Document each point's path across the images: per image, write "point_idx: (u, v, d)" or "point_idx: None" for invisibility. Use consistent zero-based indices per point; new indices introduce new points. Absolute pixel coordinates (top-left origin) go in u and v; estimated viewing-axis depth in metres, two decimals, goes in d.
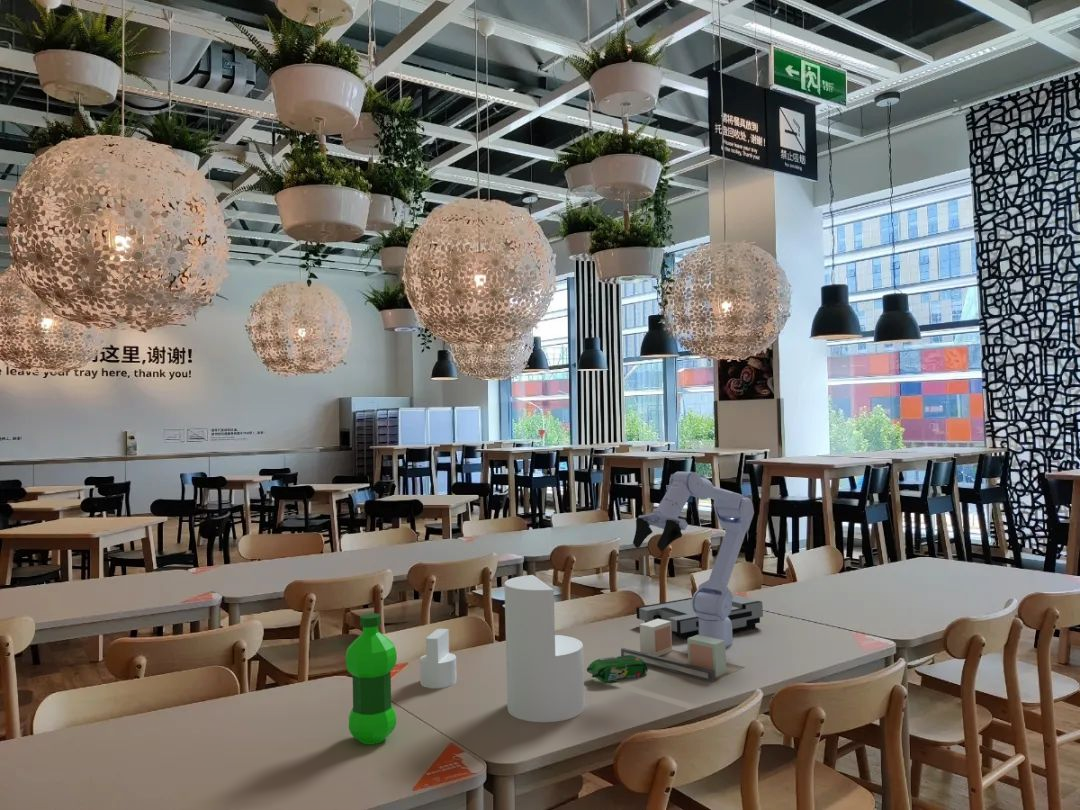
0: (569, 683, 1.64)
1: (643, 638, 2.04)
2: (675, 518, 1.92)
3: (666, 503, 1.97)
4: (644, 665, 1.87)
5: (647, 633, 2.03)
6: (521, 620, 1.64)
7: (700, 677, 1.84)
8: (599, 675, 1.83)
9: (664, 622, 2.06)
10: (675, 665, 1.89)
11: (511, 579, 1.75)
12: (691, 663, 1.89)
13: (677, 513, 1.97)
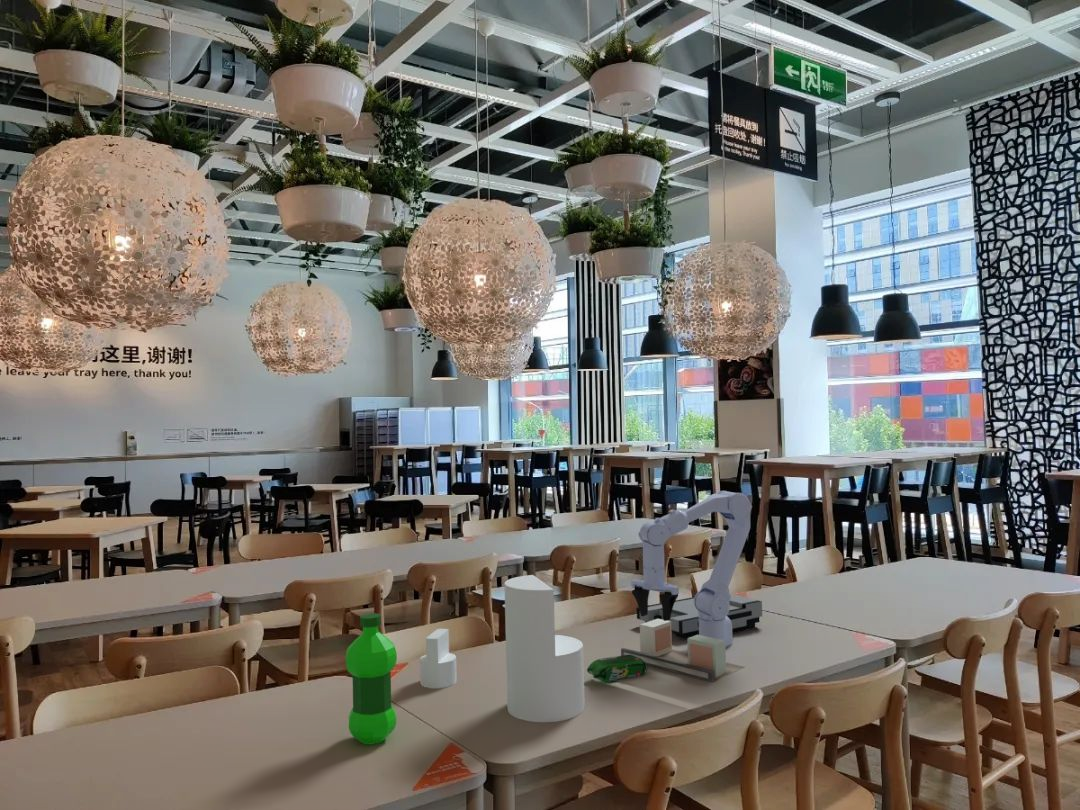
0: (569, 683, 1.64)
1: (643, 638, 2.04)
2: (665, 588, 2.02)
3: (650, 573, 2.04)
4: (644, 664, 1.88)
5: (647, 633, 2.03)
6: (521, 620, 1.64)
7: (700, 677, 1.84)
8: (600, 675, 1.83)
9: (664, 622, 2.06)
10: (675, 665, 1.89)
11: (511, 579, 1.75)
12: (691, 663, 1.89)
13: (663, 573, 2.04)
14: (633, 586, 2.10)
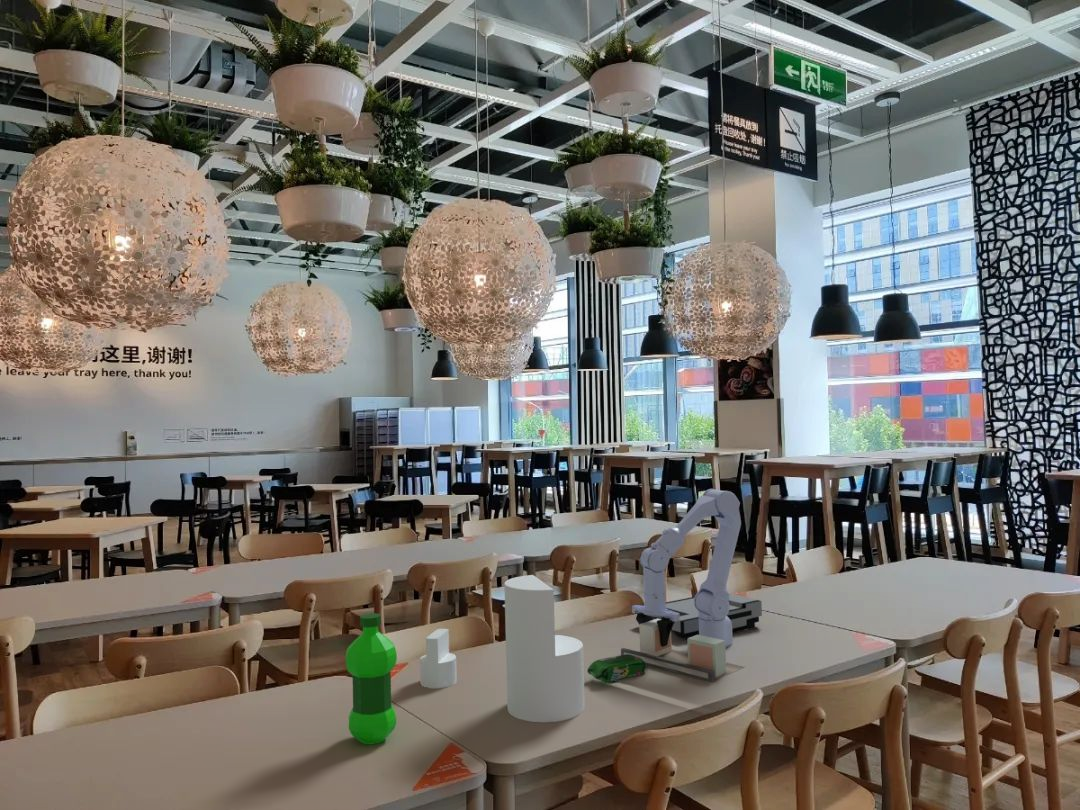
0: (569, 683, 1.64)
1: (643, 638, 2.04)
2: (666, 614, 2.01)
3: (650, 599, 2.03)
4: (643, 664, 1.88)
5: (647, 633, 2.03)
6: (521, 620, 1.64)
7: (700, 677, 1.84)
8: (602, 676, 1.83)
9: None
10: (675, 665, 1.89)
11: (511, 579, 1.75)
12: (691, 663, 1.89)
13: (664, 600, 2.04)
14: (633, 611, 2.10)
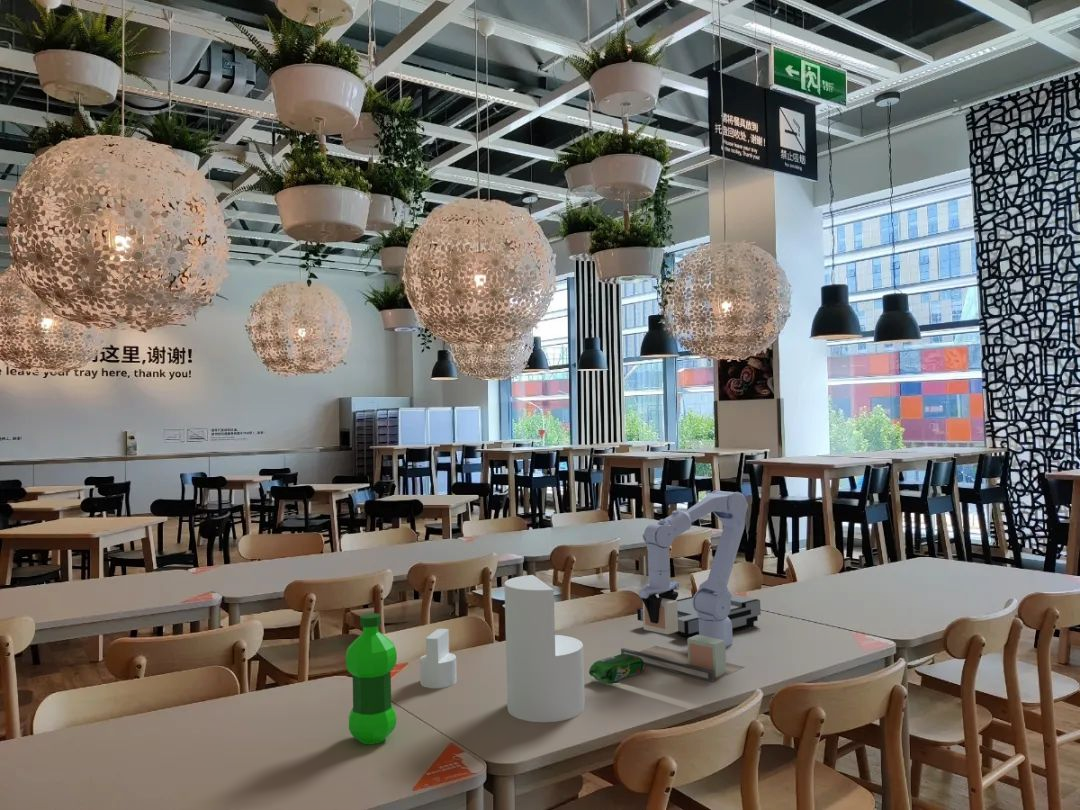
0: (569, 683, 1.64)
1: None
2: None
3: None
4: (642, 662, 1.90)
5: None
6: (521, 620, 1.64)
7: (700, 677, 1.84)
8: (607, 676, 1.82)
9: (661, 602, 2.00)
10: (675, 665, 1.89)
11: (511, 579, 1.75)
12: (691, 663, 1.89)
13: (654, 577, 2.00)
14: None
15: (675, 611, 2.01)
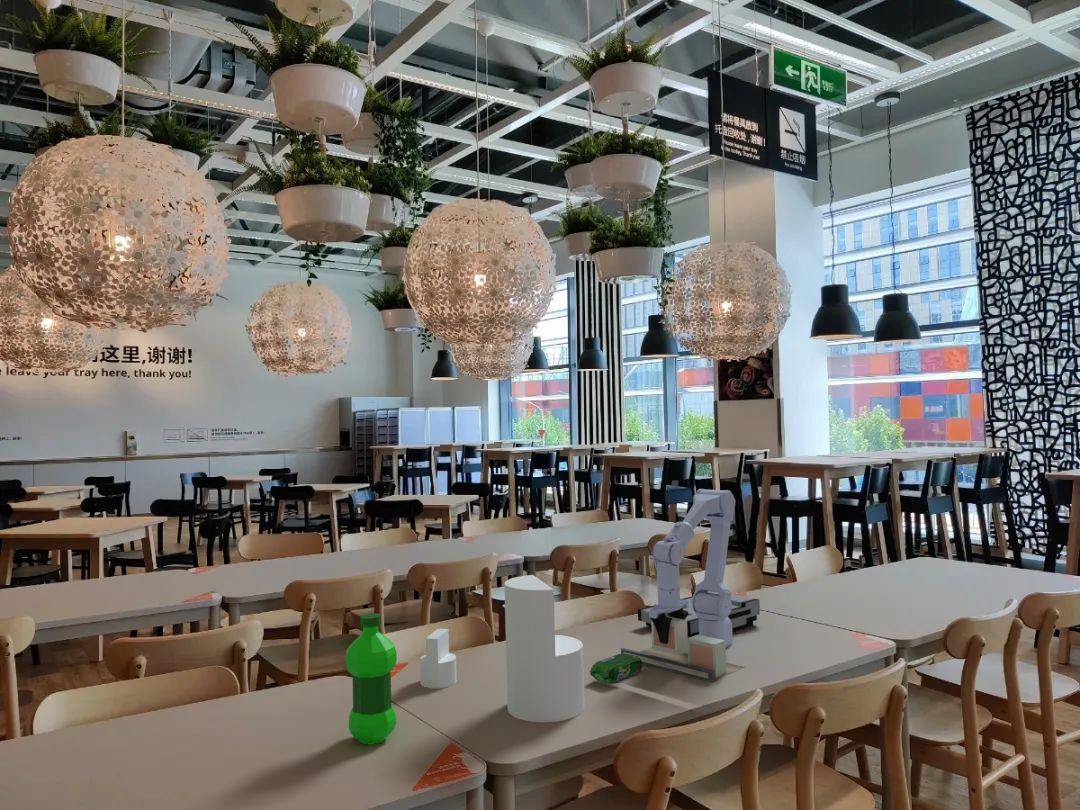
0: (569, 683, 1.64)
1: None
2: None
3: None
4: (641, 661, 1.90)
5: None
6: (521, 620, 1.64)
7: (700, 677, 1.84)
8: (610, 677, 1.82)
9: (671, 621, 1.95)
10: (675, 665, 1.89)
11: (511, 579, 1.75)
12: (691, 663, 1.89)
13: (663, 596, 1.95)
14: None
15: (685, 630, 1.95)
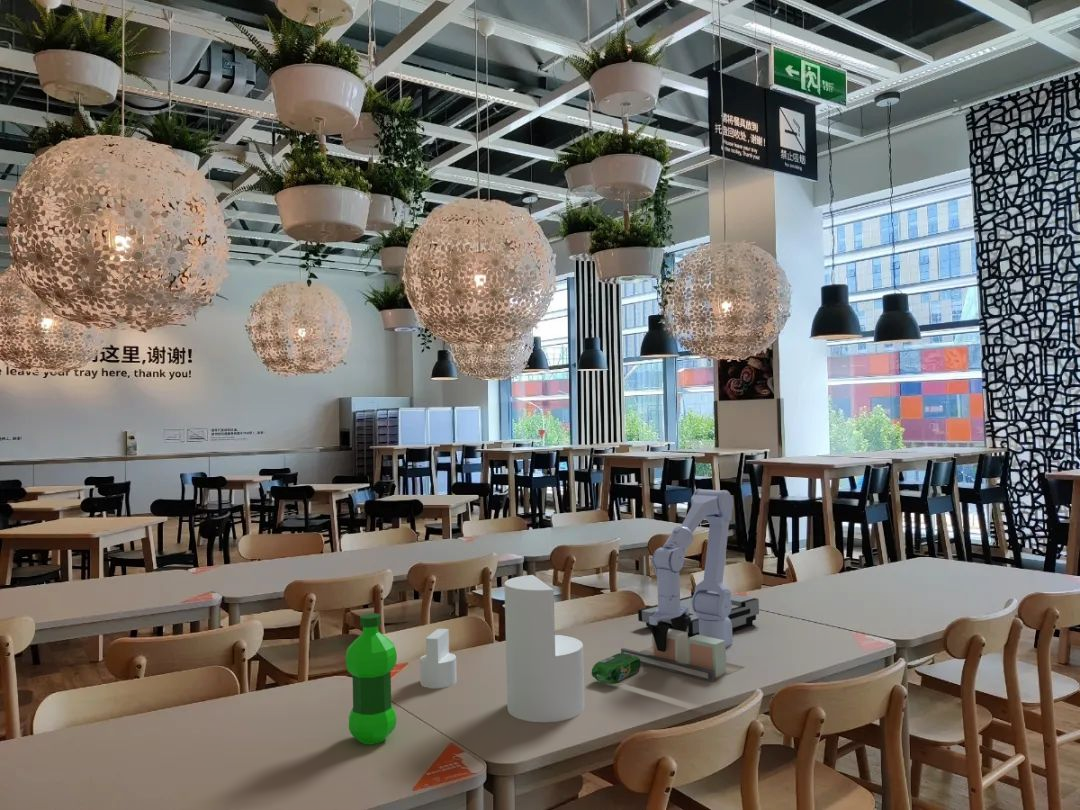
0: (569, 683, 1.64)
1: None
2: None
3: None
4: (639, 660, 1.91)
5: None
6: (521, 620, 1.64)
7: (700, 677, 1.84)
8: (612, 677, 1.82)
9: (672, 634, 1.95)
10: (675, 665, 1.89)
11: (511, 579, 1.75)
12: (691, 663, 1.89)
13: (663, 602, 1.95)
14: None
15: (686, 643, 1.95)
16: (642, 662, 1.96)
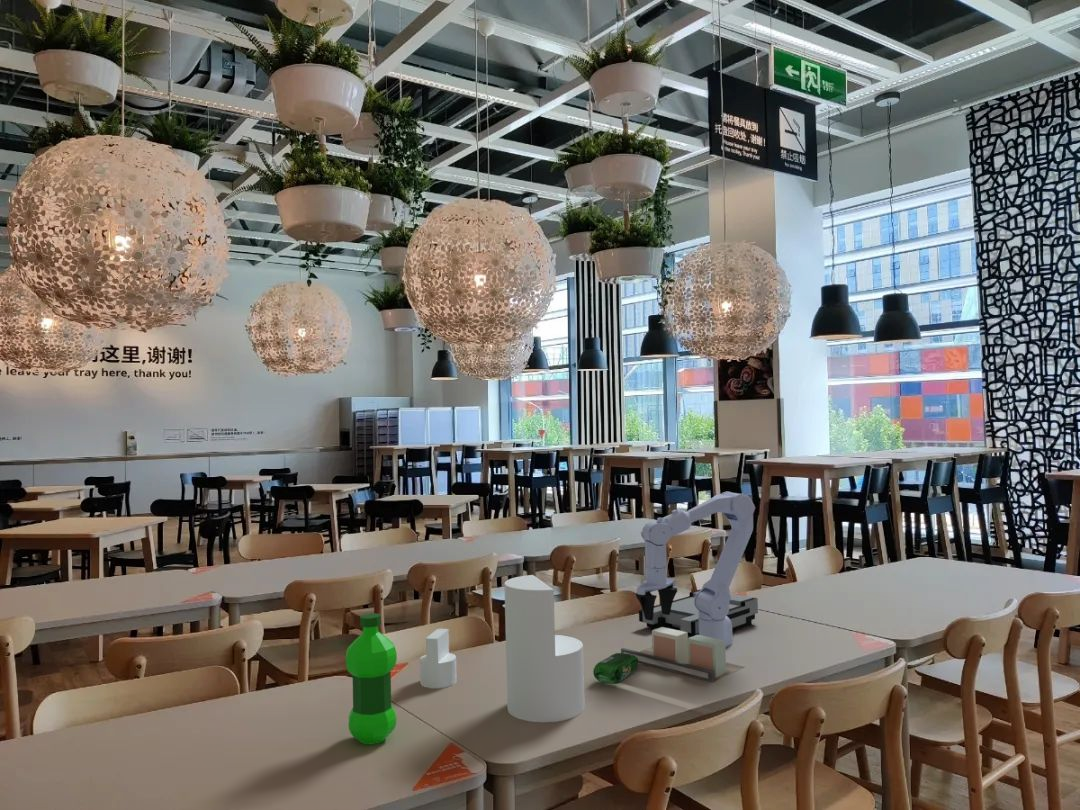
0: (569, 683, 1.64)
1: None
2: None
3: None
4: (637, 659, 1.92)
5: None
6: (521, 620, 1.64)
7: (700, 677, 1.84)
8: (616, 677, 1.82)
9: (672, 634, 1.95)
10: (675, 665, 1.89)
11: (511, 579, 1.75)
12: (691, 663, 1.89)
13: (651, 574, 2.04)
14: None
15: (686, 643, 1.95)
16: (642, 662, 1.96)
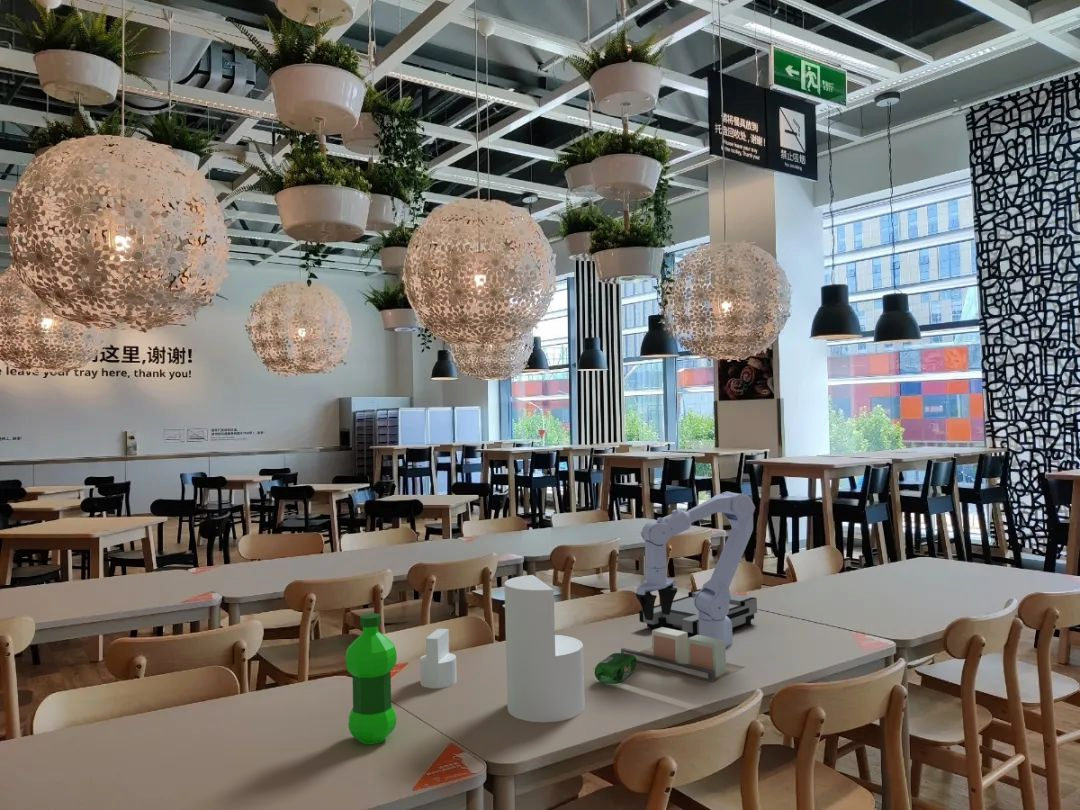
0: (569, 683, 1.64)
1: None
2: None
3: None
4: None
5: None
6: (521, 620, 1.64)
7: (700, 677, 1.84)
8: (618, 677, 1.82)
9: (672, 634, 1.95)
10: (675, 665, 1.89)
11: (511, 579, 1.75)
12: (691, 663, 1.89)
13: (651, 574, 2.04)
14: None
15: (686, 643, 1.95)
16: (642, 662, 1.96)
